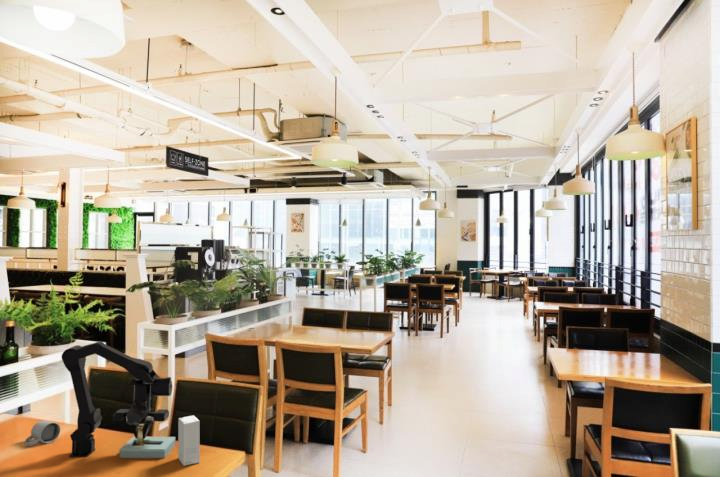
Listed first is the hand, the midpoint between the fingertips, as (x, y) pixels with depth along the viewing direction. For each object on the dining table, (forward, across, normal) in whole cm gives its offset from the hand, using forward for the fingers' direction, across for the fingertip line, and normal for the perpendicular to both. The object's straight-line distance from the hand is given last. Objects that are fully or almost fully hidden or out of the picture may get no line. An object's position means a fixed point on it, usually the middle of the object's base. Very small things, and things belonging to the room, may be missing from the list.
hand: (140, 438), depth 184 cm
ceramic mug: (+5, -41, +9) cm, 42 cm away
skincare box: (+5, +20, -8) cm, 22 cm away
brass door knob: (+4, 0, 0) cm, 5 cm away
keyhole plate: (+5, +3, 0) cm, 6 cm away
